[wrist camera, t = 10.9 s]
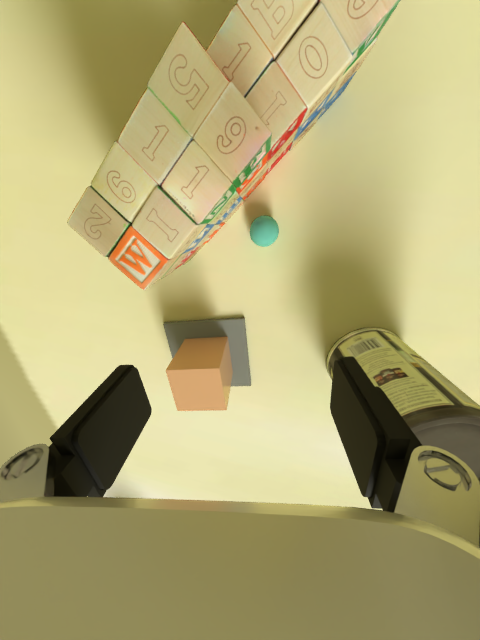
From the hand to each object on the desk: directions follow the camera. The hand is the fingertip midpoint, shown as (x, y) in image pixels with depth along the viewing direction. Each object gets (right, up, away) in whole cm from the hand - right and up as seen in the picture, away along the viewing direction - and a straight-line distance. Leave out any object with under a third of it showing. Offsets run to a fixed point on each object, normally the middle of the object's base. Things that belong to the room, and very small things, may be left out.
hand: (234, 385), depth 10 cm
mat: (-4, -2, +21) cm, 22 cm away
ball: (+3, +13, +11) cm, 18 cm away
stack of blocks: (0, +19, +12) cm, 22 cm away
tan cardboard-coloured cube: (-4, -2, +21) cm, 21 cm away
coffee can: (+17, -2, +20) cm, 27 cm away
